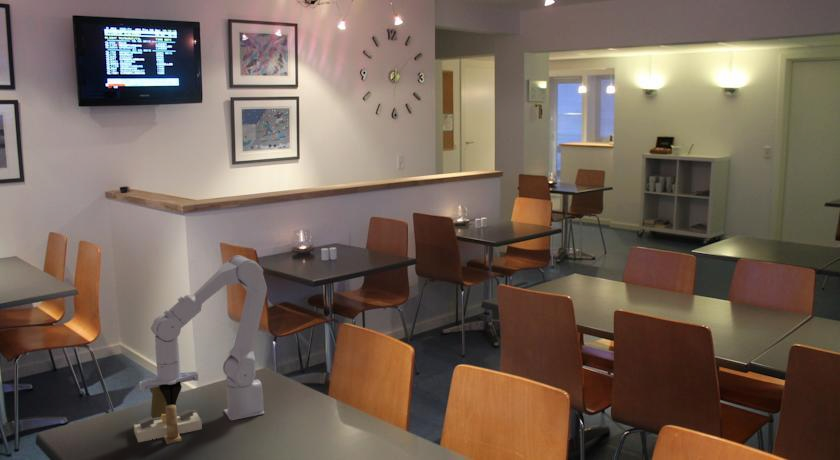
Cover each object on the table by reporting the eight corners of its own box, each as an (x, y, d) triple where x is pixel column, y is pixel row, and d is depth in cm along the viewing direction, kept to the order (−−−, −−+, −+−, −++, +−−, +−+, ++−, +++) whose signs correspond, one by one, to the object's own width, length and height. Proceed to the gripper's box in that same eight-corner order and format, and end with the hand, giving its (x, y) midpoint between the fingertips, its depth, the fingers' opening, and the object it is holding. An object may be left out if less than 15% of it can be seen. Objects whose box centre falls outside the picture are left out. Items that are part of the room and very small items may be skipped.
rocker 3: (191, 412, 198) (190, 408, 198) (193, 415, 196) (192, 411, 196) (179, 417, 197) (178, 413, 196) (181, 420, 195) (180, 416, 194)
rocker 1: (152, 420, 193) (151, 416, 193) (154, 423, 191) (152, 419, 191) (140, 424, 192) (138, 420, 192) (141, 428, 190) (140, 424, 190)
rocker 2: (173, 418, 196) (173, 414, 196) (175, 421, 194) (175, 417, 194) (160, 418, 194) (161, 414, 194) (162, 421, 192) (163, 417, 192)
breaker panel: (196, 419, 201) (195, 409, 201) (201, 429, 195) (201, 418, 195) (134, 432, 194) (133, 422, 193) (138, 442, 188) (137, 431, 187)
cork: (166, 424, 199) (163, 385, 197) (146, 422, 200) (143, 384, 198) (177, 415, 205) (175, 377, 203) (158, 413, 206) (155, 376, 204)
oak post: (178, 435, 191) (176, 402, 190) (181, 441, 188) (179, 407, 187) (164, 438, 190) (162, 405, 188) (167, 444, 186) (164, 410, 185)
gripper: (141, 370, 185) (144, 421, 187) (199, 360, 192) (202, 410, 194) (136, 362, 191) (140, 412, 193) (193, 353, 198) (196, 401, 200)
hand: (171, 410), depth 194 cm, fingers closed
